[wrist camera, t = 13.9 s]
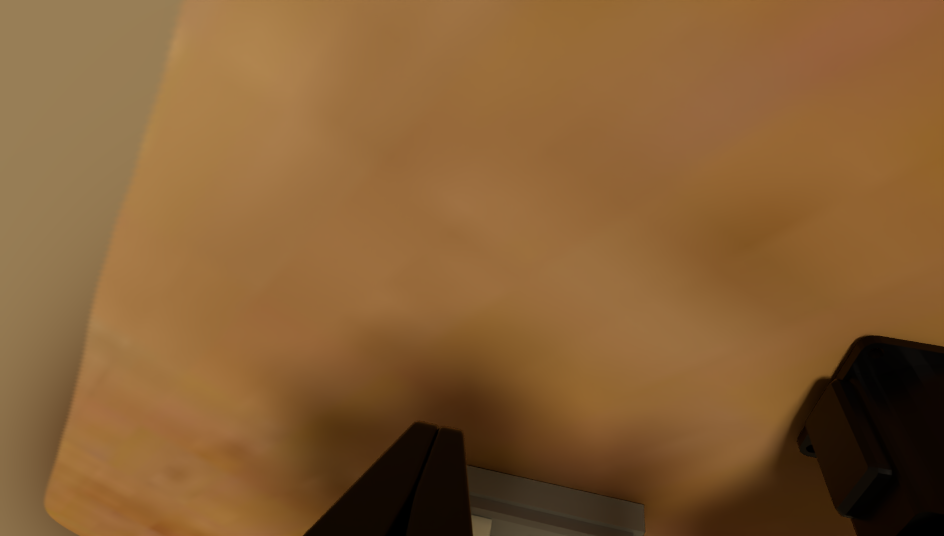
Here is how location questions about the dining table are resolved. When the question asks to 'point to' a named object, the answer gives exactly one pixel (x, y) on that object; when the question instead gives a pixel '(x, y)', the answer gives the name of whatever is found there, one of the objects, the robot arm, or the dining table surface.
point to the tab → (481, 526)
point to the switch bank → (548, 508)
